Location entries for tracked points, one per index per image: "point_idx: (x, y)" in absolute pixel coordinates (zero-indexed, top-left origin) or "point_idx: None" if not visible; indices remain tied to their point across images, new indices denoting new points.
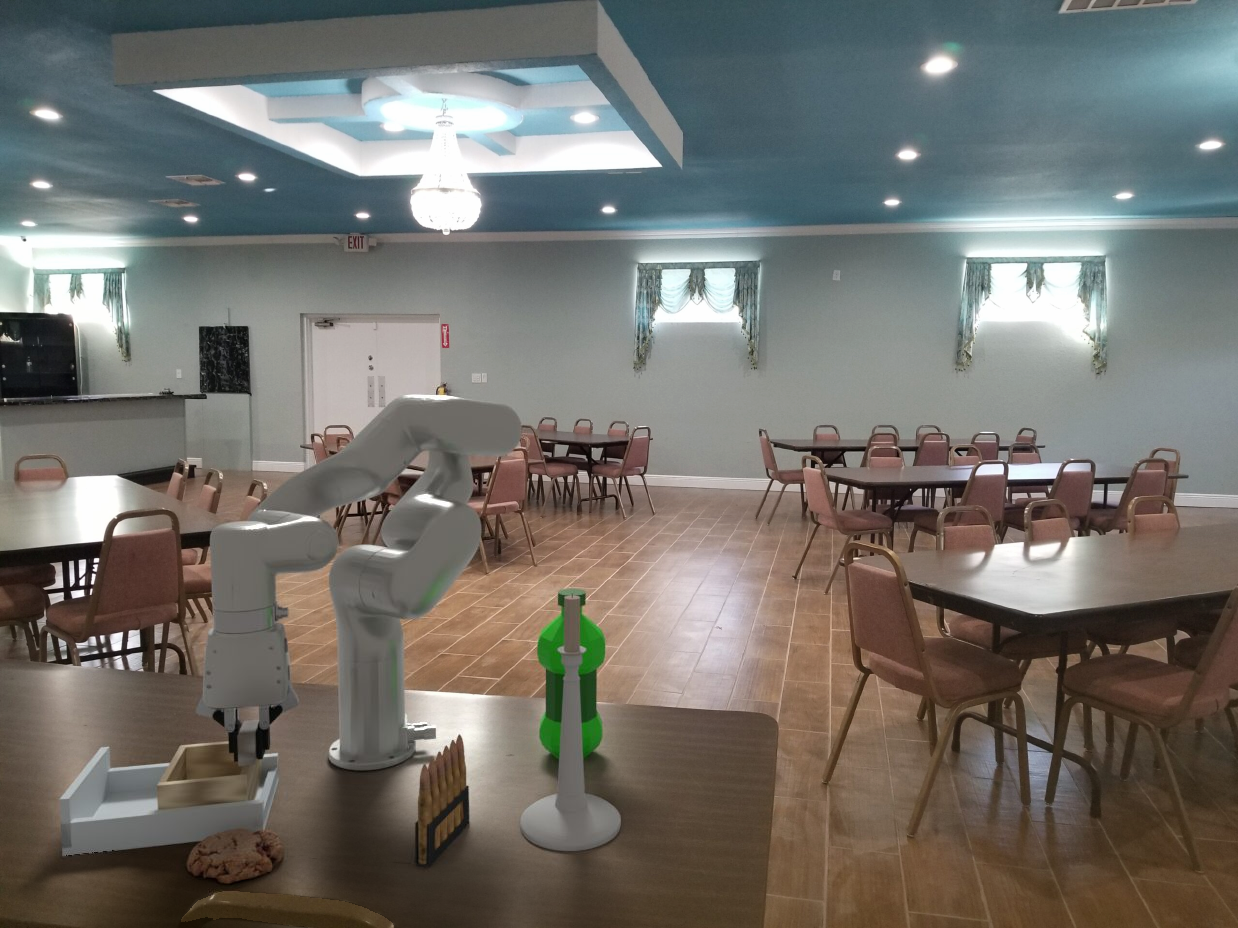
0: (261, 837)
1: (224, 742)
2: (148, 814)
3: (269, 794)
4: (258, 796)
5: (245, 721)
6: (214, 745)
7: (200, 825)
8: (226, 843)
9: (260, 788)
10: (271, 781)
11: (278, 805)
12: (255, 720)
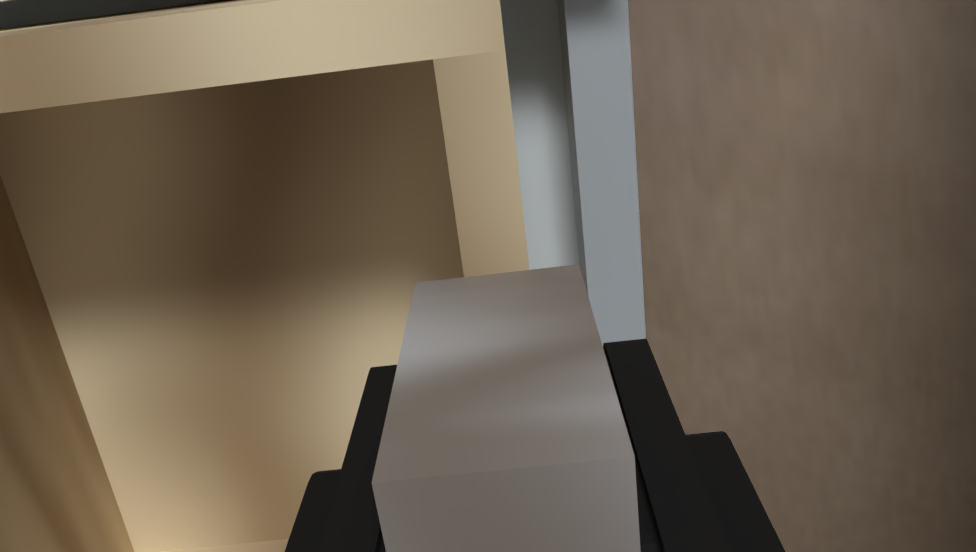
0: None
1: (96, 57)
2: None
3: None
4: (539, 232)
5: (405, 508)
6: (12, 108)
7: None
8: None
9: (523, 116)
10: (628, 207)
11: (663, 250)
12: (564, 495)
